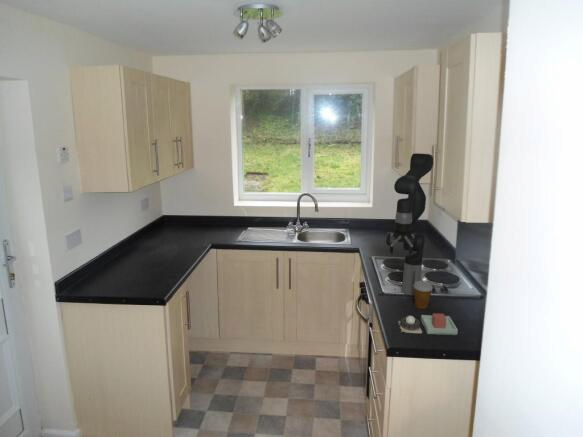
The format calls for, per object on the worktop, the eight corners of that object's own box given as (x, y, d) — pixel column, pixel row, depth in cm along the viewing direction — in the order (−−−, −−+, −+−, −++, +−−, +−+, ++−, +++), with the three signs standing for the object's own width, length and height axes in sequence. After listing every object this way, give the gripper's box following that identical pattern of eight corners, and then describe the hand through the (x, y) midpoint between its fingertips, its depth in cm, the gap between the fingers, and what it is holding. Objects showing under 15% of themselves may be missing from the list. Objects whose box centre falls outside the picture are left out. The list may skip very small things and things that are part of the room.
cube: (431, 323, 209) (432, 313, 208) (442, 323, 209) (443, 313, 208) (434, 328, 205) (435, 318, 203) (445, 328, 204) (446, 318, 203)
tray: (420, 319, 214) (421, 315, 213) (448, 321, 213) (449, 316, 212) (427, 333, 201) (427, 328, 200) (457, 335, 200) (457, 329, 200)
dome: (404, 322, 207) (405, 313, 206) (413, 322, 207) (414, 314, 206) (406, 326, 203) (407, 317, 202) (415, 326, 203) (416, 318, 202)
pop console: (398, 323, 210) (398, 316, 209) (417, 323, 210) (418, 317, 209) (401, 332, 202) (402, 325, 201) (421, 333, 201) (422, 326, 200)
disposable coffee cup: (434, 306, 229) (436, 284, 226) (425, 312, 222) (427, 289, 219) (416, 300, 235) (418, 279, 232) (408, 306, 228) (410, 284, 225)
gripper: (416, 219, 214) (413, 251, 218) (386, 218, 215) (384, 250, 219) (420, 223, 207) (417, 256, 211) (389, 222, 207) (386, 255, 211)
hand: (400, 253), depth 215 cm, fingers open, 8 cm apart
